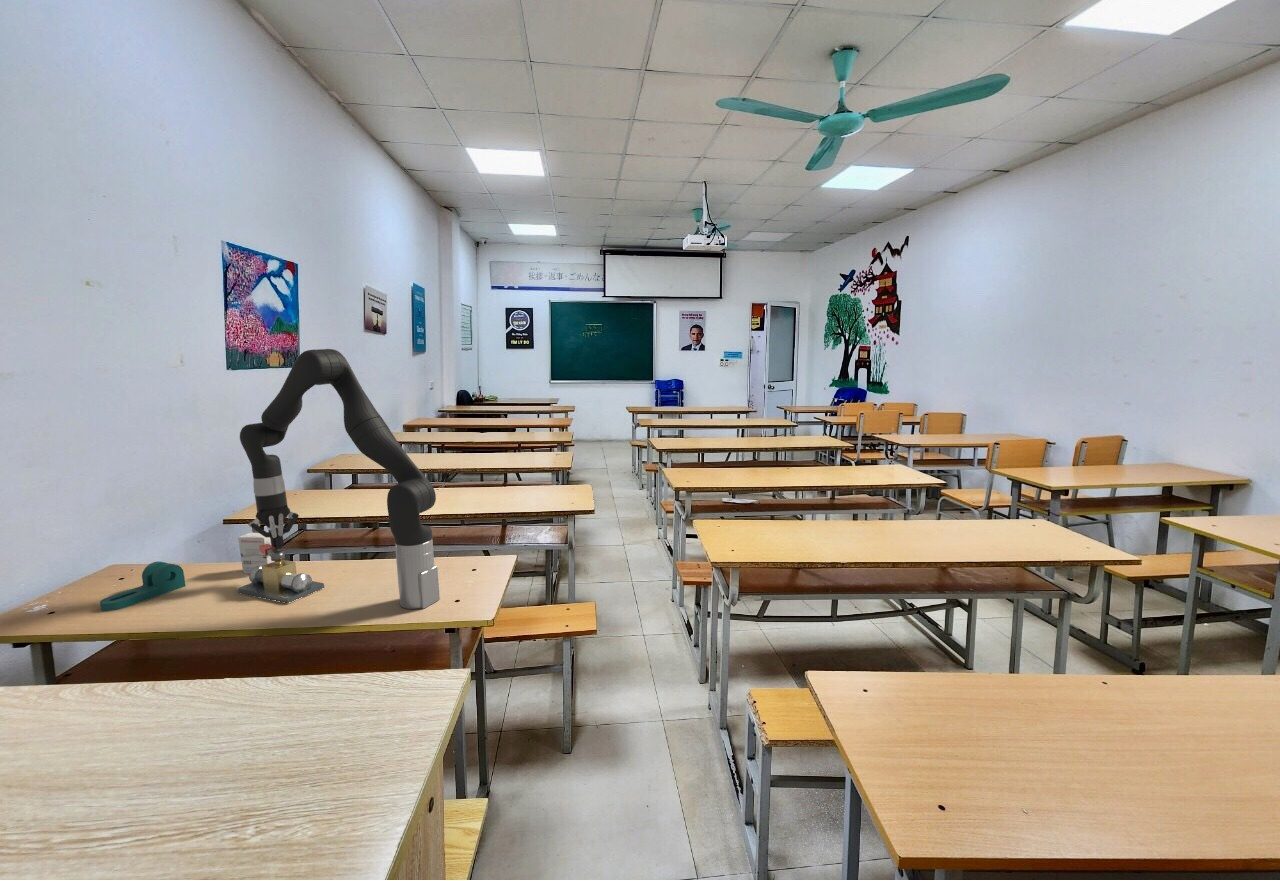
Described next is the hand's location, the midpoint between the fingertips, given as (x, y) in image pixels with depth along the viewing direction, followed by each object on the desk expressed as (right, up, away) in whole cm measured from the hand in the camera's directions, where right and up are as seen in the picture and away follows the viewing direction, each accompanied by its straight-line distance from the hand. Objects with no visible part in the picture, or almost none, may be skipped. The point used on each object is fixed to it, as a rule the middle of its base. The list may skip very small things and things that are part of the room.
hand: (278, 548), depth 169 cm
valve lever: (+1, -1, -5) cm, 5 cm away
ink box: (-11, -9, +9) cm, 16 cm away
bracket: (-32, -12, -9) cm, 35 cm away
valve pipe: (+5, -11, -6) cm, 13 cm away
